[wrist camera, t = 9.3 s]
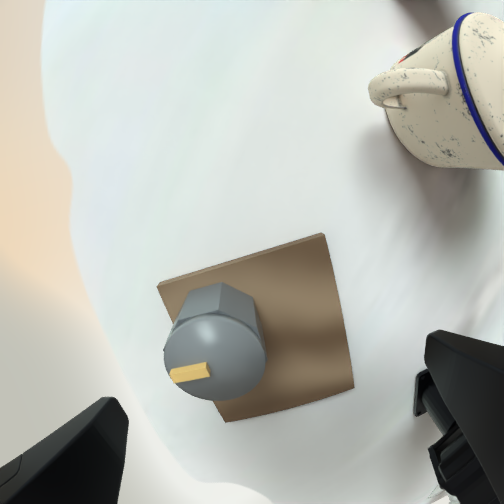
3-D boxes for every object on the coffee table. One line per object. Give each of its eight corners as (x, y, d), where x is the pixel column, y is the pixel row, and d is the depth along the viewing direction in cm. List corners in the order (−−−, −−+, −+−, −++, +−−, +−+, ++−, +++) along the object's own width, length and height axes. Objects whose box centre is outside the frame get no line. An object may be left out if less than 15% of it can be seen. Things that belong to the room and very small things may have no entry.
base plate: (351, 382, 21) (366, 412, 18) (225, 416, 22) (223, 449, 18) (321, 232, 18) (340, 246, 14) (159, 282, 19) (142, 306, 15)
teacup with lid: (457, 63, 15) (557, 29, 4) (477, 169, 17) (592, 183, 6) (326, 47, 15) (405, -59, 4) (351, 177, 17) (486, 188, 6)
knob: (245, 274, 18) (249, 313, 13) (267, 343, 19) (277, 394, 14) (167, 296, 18) (144, 338, 13) (196, 361, 19) (186, 413, 14)
